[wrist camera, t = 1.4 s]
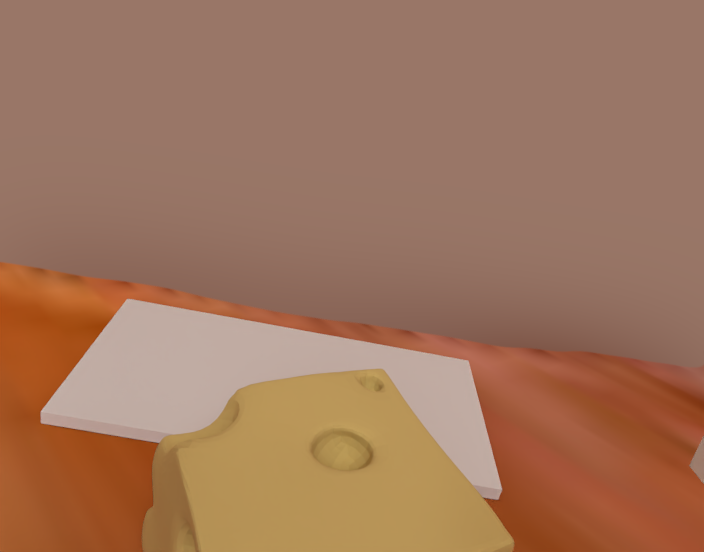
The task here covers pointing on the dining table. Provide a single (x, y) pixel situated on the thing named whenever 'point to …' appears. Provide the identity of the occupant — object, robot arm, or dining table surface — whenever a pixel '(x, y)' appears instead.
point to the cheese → (315, 476)
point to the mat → (251, 379)
